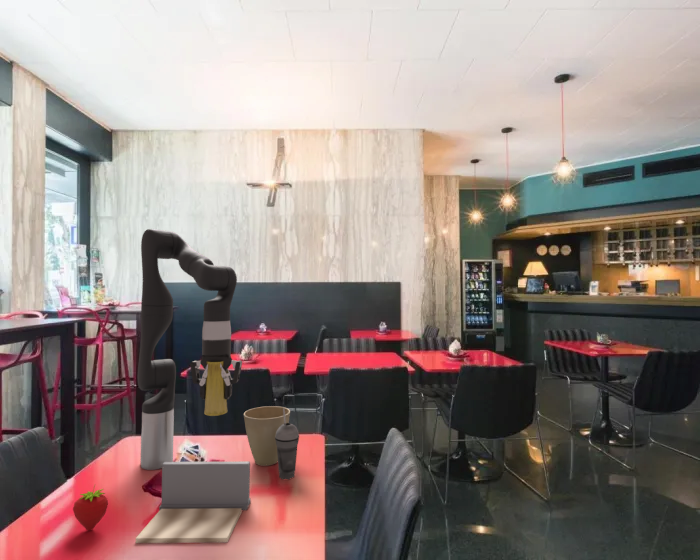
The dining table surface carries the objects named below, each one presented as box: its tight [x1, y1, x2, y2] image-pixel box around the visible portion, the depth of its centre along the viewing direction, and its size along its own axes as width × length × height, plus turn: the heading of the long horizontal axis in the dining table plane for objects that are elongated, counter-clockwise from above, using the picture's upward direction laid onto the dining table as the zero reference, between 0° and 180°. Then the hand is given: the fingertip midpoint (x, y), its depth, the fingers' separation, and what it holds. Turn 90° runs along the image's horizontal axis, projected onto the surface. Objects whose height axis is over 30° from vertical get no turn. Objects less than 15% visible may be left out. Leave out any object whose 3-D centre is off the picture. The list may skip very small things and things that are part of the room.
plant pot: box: [243, 405, 291, 467], centre depth 130 cm, size 15×15×16 cm
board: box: [135, 508, 242, 544], centre depth 93 cm, size 20×12×1 cm, turn 91°
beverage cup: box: [275, 409, 300, 480], centre depth 119 cm, size 7×7×20 cm
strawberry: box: [72, 484, 109, 531], centre depth 92 cm, size 6×8×10 cm
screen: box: [158, 461, 252, 512], centre depth 102 cm, size 22×4×11 cm, turn 91°
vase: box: [203, 361, 228, 417], centre depth 109 cm, size 6×6×14 cm
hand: (216, 398), depth 109 cm, fingers closed on vase, 5 cm apart
